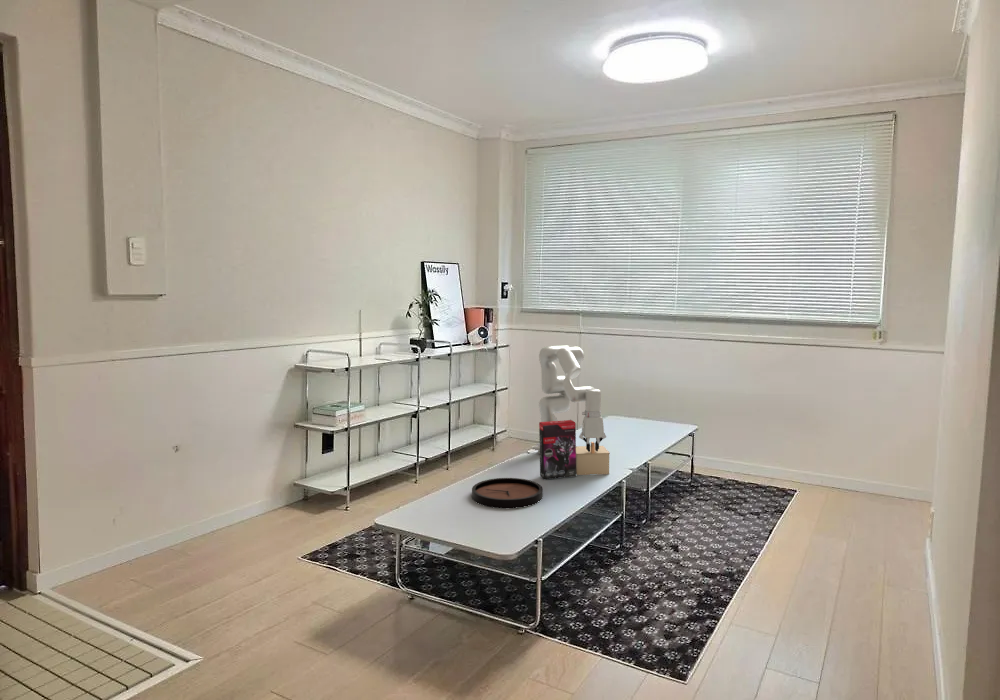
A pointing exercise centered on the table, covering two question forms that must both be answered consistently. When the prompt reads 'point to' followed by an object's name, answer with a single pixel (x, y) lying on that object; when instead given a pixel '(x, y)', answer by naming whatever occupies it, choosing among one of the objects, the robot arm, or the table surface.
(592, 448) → the flap
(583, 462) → the carton
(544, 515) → the table surface
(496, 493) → the wall clock
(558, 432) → the graphics card box
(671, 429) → the table surface
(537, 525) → the table surface
